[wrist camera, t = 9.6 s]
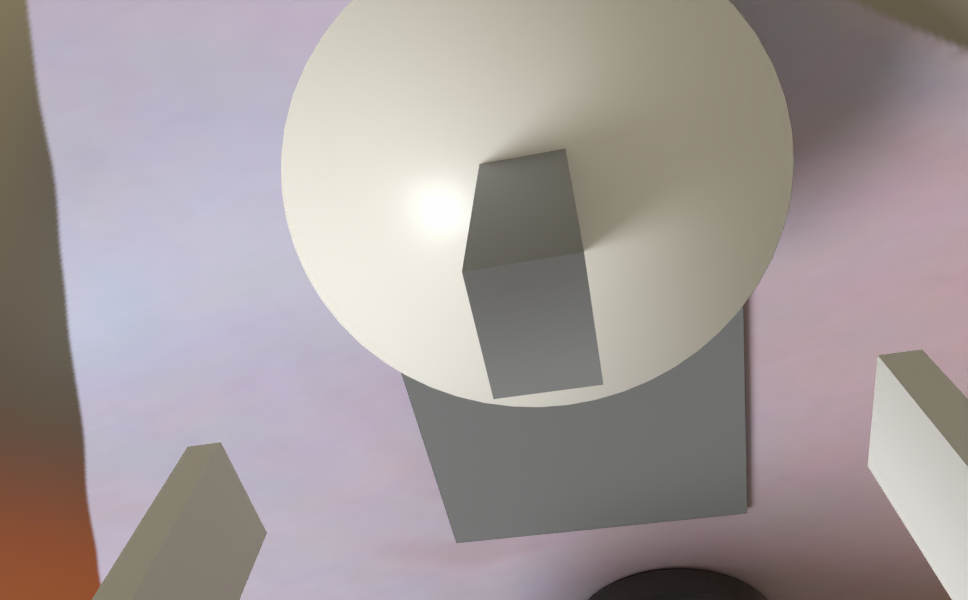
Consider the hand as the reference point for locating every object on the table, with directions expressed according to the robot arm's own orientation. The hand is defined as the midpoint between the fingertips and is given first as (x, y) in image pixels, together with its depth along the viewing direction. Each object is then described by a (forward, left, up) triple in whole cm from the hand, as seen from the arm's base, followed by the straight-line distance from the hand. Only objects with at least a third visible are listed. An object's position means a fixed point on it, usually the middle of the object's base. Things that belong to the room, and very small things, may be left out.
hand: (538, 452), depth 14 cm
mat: (-17, 0, -21) cm, 27 cm away
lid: (0, 0, -15) cm, 15 cm away
